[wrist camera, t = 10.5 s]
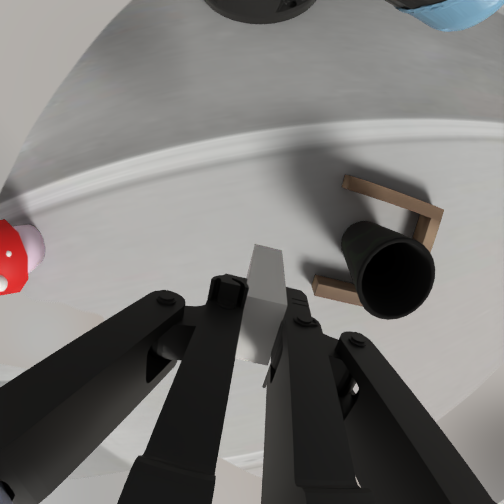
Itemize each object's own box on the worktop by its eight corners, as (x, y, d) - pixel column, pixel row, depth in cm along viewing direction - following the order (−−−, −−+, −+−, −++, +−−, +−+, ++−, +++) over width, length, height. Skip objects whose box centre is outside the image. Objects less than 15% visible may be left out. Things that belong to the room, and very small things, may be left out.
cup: (376, 200, 34) (420, 221, 23) (400, 254, 36) (444, 293, 25) (321, 231, 36) (342, 266, 24) (348, 283, 38) (374, 333, 26)
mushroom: (2, 238, 39) (-47, 260, 27) (29, 194, 36) (-28, 209, 25) (35, 288, 41) (-11, 320, 29) (66, 249, 39) (12, 278, 27)
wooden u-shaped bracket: (344, 174, 34) (351, 176, 31) (432, 205, 34) (444, 209, 31) (311, 285, 38) (314, 295, 35) (396, 305, 38) (404, 315, 35)
